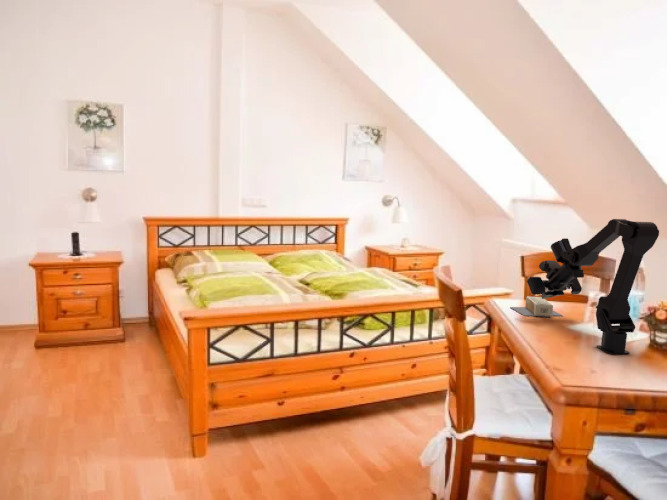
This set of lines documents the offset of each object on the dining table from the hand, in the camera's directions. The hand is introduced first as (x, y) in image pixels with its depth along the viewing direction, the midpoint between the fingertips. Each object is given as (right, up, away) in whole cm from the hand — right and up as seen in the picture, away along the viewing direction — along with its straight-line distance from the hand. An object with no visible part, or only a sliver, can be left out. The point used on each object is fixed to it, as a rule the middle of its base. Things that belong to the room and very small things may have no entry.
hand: (542, 297), depth 191 cm
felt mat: (0, -6, +7) cm, 10 cm away
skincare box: (0, -5, 0) cm, 5 cm away
